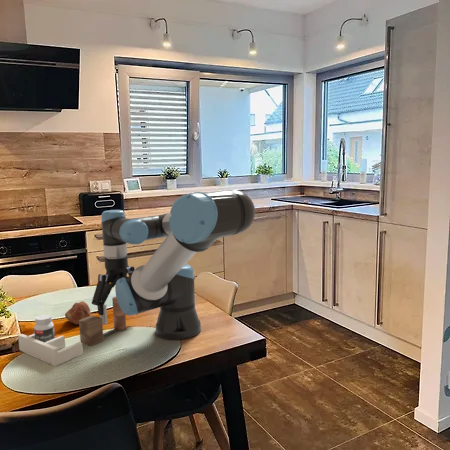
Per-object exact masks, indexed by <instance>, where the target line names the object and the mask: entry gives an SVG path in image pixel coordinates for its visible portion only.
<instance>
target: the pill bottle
mask: <svg viewBox="0 0 450 450" xmlns="http://www.w3.org/2000/svg"><path fill="white" fill-rule="evenodd" d="M52 318H53V317H52V315H51V314H41V315H37V316H36V317H34V323H36V324H34V326H33V331H34V333H33V334H35V339H37V340H39V341H42V342H47V341H49V340H52V339H54V338H56V336H55V325H54V322H53V321H52V320H53V319H52Z"/></svg>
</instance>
